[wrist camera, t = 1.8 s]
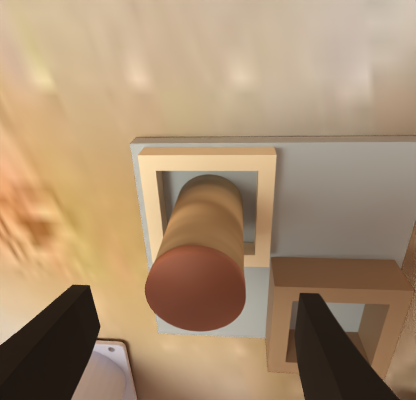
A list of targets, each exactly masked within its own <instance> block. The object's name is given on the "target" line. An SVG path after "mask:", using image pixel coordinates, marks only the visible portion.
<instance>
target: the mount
mask: <svg viewBox="0 0 416 400" xmlns="http://www.w3.org/2000/svg"><path fill="white" fill-rule="evenodd" d="M130 147H131V153H132V160H133V167H134V173H135V180H136V187H137V194H138V200H139V207H140V214H141V221H142V227H143V234H144V241H145V247H146V254H147V261H148V268H149V272H150V269H151V267H152V265H153V263H154V262H155V259H156V257H157V254H158V251H159V248H160V245H161V243H162V240H163V237H164V234H165V231H166V228H167V226H168V223H169V220H170V217H171V214H172V212H173V209H174V206H175V203H176V200H177V198H178V195H179V192H180V190H181V188H182V187H183V186H184V184H185V183H186V182H188V181H189V180H190V179H192V178H194V177H196V176H200V175H205V174H212V175H218V176H221V177H224V178H226V179H228V180H229V181H231V182H232V183H233V184H234V185H235V186H236V187H237V189H238V190H239V192H240V194H241V197H242V201H243V245H244V278H245V284H246V302H245V306H244V309H243V311H242V312H241V314H240V315H239V316H238V317H237V318H236V319H235V320H234V321H233V322H232V323H230V324H228V325H227V326H225V327H222V328H220V329H216V330H212V331H204V332H197V331H189V330H184V329H180V328H177V327H175V326H172V325H170V324H168V323H167V322H165V321H164V320H162V319H161V318H160V317H158V316H157V315H156V314H155V315H156V321H157V328H158V334H180V335H201V336H223V337H245V338H265V343H266V355H267V367H268V372H278V373H296V374H299V370H298V364H297V356H296V347H295V338H294V333H295V326H296V318H297V310H298V302H299V295H300V293H319V294H320V295H321V296H322V298H323V299H324V301H325V303H326V304H327V306H328V307H329V309H330V310H331V312H332V313H333V315H334V316H335V318H336V319H337V321H338V322H339V324H340V325H341V327H342V328H343V330H344V331H345V332H346V334H347V335H348V337H349V338H350V339H351V341H352V342H353V343H354V345H355V346H356V347H357V349H358V350H359V351H360V353H361V354H362V355H363V357H364V358H365V359H366V360H367V362H368V363H369V364H370V366H371V367H372V368H373V369H374V370H375V372H376V373H377V374H378V375H379V376H380V378H385V377H386V374H387V371H388V368H389V365H390V362H391V359H392V356H393V354H394V351H395V348H396V345H397V342H398V339H399V336H400V333H401V330H402V327H403V324H404V321H405V319H406V316H407V313H408V310H409V307H410V304H411V301H412V298H413V295H414V292H415V290H414V289H413V287H412V286H411V284H410V283H409V281H408V280H407V278H406V277H405V275H404V274H403V272H402V271H401V267H402V264H403V261H404V257H405V254H406V251H407V248H408V244H409V241H410V238H411V234H412V231H413V228H414V224H415V221H416V136H295V137H163V138H135V139H134V140H133V141H132V142H131V143H130Z"/></svg>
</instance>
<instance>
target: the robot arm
mask: <svg viewBox="0 0 416 400" xmlns="http://www.w3.org/2000/svg"><path fill="white" fill-rule="evenodd" d="M99 330H100V323H99V319H98V315H97V312H96V308H95V304H94V300H93V297H92V293H91V289H90V285H72V286H71V287H70V288H68V289H67V290H66V291H65V292H64V293H62V294H61V295H60V296H59V297H58V298H57V299H55V300H54V301H53V302H52V303H51V304H50V305H49V306H47V307H46V308H45V309H44V310H43V311H42V312H40V313H39V314H38V315H37V316H36V317H34V318H33V319H32V320H31V321H30V322H29V323H27V324H26V325H25V326H24V327H23V328H21V329H20V330H19V331H18V332H17V333H15V334H14V335H13V336H11V337H10V338H9V339H8V340H6V341H5V342H4V343H3V344H1V345H0V400H137V396H136V391H135V387H134V382H133V377H132V373H131V368H130V364H129V359H128V355H127V350H126V346H125V344H124V343H122V342H119V341H99V340H97V336H98V333H99ZM294 338H295V347H296V356H297V364H298V370H299V374H300V379H301V383H302V388H303V392H304V397H305V400H400V399H399V398H398V397H397V396H396V395H395V394H394V393H393V392H392V391H391V389H390V388H389V387H388V386H387V385H386V384H385V382H384V381H383V380H382V379H381V378H380V376H379V375H378V374H377V373H376V372H375V370H374V369H373V368H372V367H371V366H370V364H369V363H368V362H367V360H366V359H365V358H364V357H363V355H362V354H361V353H360V351H359V350H358V349H357V347H356V346H355V345H354V343H353V342H352V341H351V339H350V338H349V337H348V335H347V334H346V332H345V331H344V330H343V328H342V327H341V325H340V324H339V322H338V321H337V319H336V318H335V316H334V315H333V313H332V312H331V310H330V309H329V307H328V306H327V304H326V303H325V301H324V299H323V298H322V296H321V295H320V294H319V293H300V295H299V302H298V310H297V318H296V326H295V333H294Z"/></svg>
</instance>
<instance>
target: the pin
mask: <svg viewBox="0 0 416 400" xmlns="http://www.w3.org/2000/svg"><path fill="white" fill-rule="evenodd" d="M145 295H146V299H147V302H148V304H149V306H150V307H151V309H152V310H153V311H154V313H155V314H156V315H157V316H158V317H160V318H161V319H162V320H164V321H165V322H167V323H168V324H170V325H172V326H175V327H177V328H180V329H184V330H189V331H197V332H204V331H212V330H216V329H220V328H222V327H225V326H227V325H228V324H230V323H232V322H233V321H234V320H235V319H236V318H237V317H238V316H239V315H240V314H241V312H242V311H243V309H244V306H245V302H246V284H245V278H244V245H243V201H242V197H241V194H240V192H239V190H238V189H237V187H236V186H235V185H234V184H233V183H232V182H231V181H229V180H228V179H226V178H224V177H221V176H218V175H212V174H205V175H200V176H196V177H194V178H192V179H190V180H189V181H188V182H186V183H185V184H184V186H183V187H182V188H181V190H180V192H179V195H178V198H177V200H176V203H175V206H174V209H173V212H172V214H171V217H170V220H169V223H168V226H167V228H166V231H165V234H164V237H163V240H162V243H161V245H160V248H159V251H158V254H157V257H156V259H155V262H154V263H153V265H152V267H151V269H150V272H149V275H148V278H147V281H146V284H145Z"/></svg>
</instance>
